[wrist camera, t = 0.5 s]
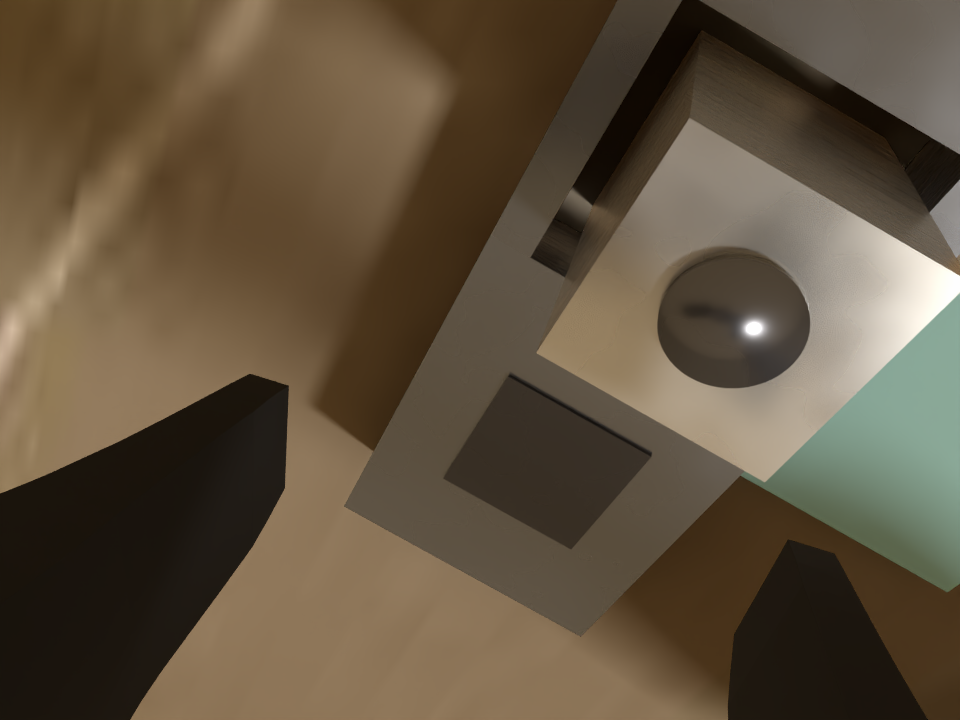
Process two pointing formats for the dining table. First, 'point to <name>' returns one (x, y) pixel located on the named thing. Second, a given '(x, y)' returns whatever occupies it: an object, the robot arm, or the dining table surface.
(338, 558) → the dining table surface
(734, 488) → the dining table surface
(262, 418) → the robot arm
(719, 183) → the cube with screw head
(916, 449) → the mat
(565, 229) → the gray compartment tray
